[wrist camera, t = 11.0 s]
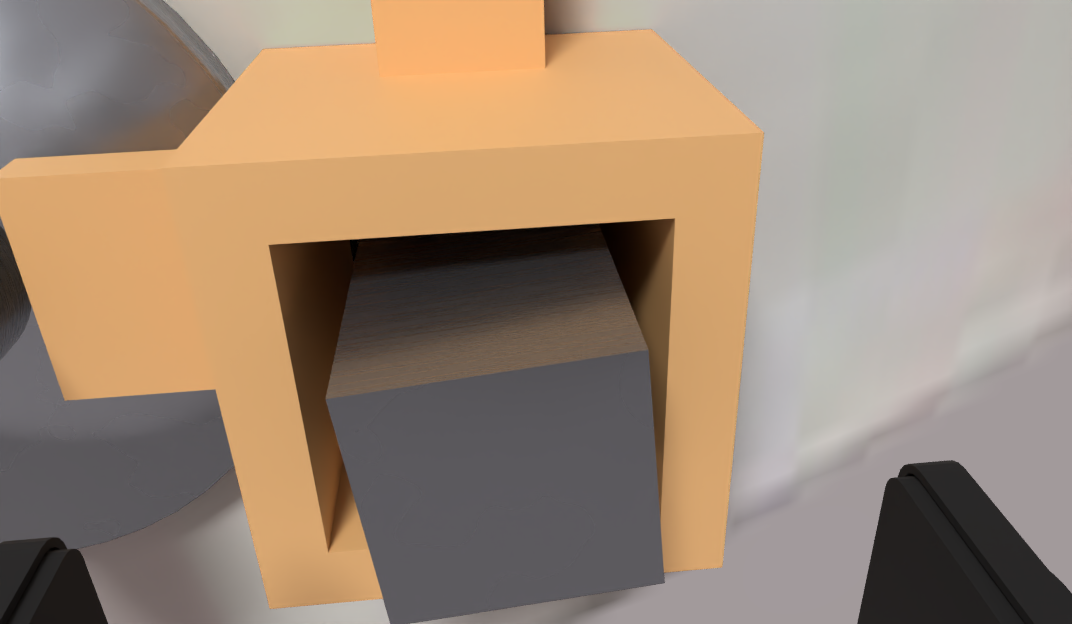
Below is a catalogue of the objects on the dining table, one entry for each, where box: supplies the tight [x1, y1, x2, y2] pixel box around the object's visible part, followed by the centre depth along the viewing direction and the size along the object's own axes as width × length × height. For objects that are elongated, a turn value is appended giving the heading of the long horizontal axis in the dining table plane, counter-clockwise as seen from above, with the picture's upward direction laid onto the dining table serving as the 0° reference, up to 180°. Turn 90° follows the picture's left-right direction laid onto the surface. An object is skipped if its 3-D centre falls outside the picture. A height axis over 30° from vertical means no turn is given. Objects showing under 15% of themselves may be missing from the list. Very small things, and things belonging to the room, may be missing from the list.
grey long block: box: [326, 223, 665, 624], centre depth 16 cm, size 4×4×10 cm
